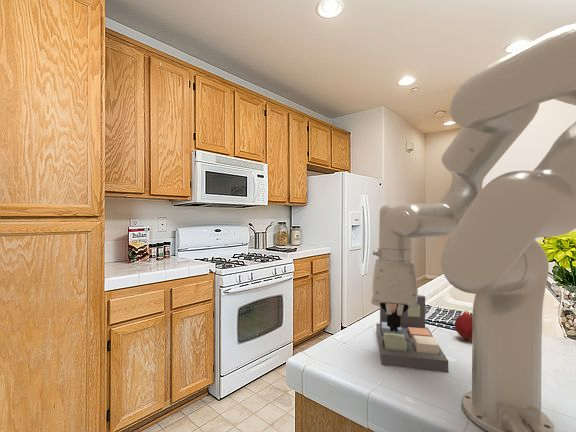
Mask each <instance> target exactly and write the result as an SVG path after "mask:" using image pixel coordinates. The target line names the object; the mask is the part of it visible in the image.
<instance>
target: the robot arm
mask: <svg viewBox="0 0 576 432" xmlns="http://www.w3.org/2000/svg"><path fill="white" fill-rule="evenodd" d="M551 100H555V101H559V102H562V103H565V104H569V105H572V106H576V23H571V24H567V25H564V26H563V27H559V28H556V29H555V30H552V31H550V32H548V33H546V34H544V35H542V36H541V37H539V38H538V37H537V38H536V39H534V40H533V41H530V43H527V44H526V45H523V46H521V47H520V48H518V49H516V50H515V51H513V52H510V53H509V54H507V55H505V56H503V57H501V58H499V59H497V61H494V62H492V63H490V64H489V65H487V66H486V67H484V68H482V69H481V70H479V71H477V72H476V73H474V74H473V75H471V76H470V77H469V78H468V79H466V80H465V81H464V82H463V83H462V84H461V85H460V86H459V87H458V88H457V90H456V92H455V93H454V95H453V96H452V99H451V101H450V107H449V110H450V111H449V112H450V113H449V114H450V116H451V119H452V120H453V122H454V123H456V124H457V125H458V126H459V127H461V128H460V129H459V131H458V133H457V134H456V135H455V137H454V138H453V139H452V141H451V142H450V144H449V145H448V147H446V149H445V151H444V152H443V153H442V156H441V162H442V165H443V167H444V168H445V169H446V170H447V171H448V172H450V174H451V182H450V186H449V188H448V189H447V191H446V192H445V194H444V195H443V196H442V198H441V199H440V200H439V202H437V203H407V204H384V205H382V206H381V207H380V210H379V225H378V227H379V229H378V231H379V233H378V237H379V238H378V239H379V240H378V248H377V249H372V255H373V256H377V257H378V259H376V260H375V263H374V271H373V277H372V297H371V300H370V301H371V304H372V305H375V306H377V307H379V308H380V307H382V308H383V309H384V310H385V312H386V313H387V326H389V327H390V331H392V332H393V331H395V332H398V327H400V319H401V315H402V313H404V312H405V311H406V310H407V309H411V308H417V307H418V305H417V300H418V295H419V293H418V288H419V287H418V274H417V267H416V263H415V262H414V261H413V260H412V253H413V252H412V250H413V247H412V245H413V239H416V238H417V239H423V238H441V237H446V236H449V235H450V236H449V238H448V240H447V241H446V243H445V246H444V247H443V250H442V254H441V261H440V263H441V270H442V273H443V275H444V278H445V279H446V280H447V281H448V283H450V285H451V286H453V288H455V289H457V290H458V291H461V292H464V293H468V294H473V295H474V299H473V303H472V316H473V321H472V338H471V341H472V342H471V343H472V344H471V346H472V347H471V353H472V354H471V356H472V357H471V359H472V360H471V390H470V391H467V392H465V393H464V394H463V396H462V398H461V408H462V411H463V412H464V413H465V415H466V416H467V418H469V419H470V420H471V421H472V422H474V424H475V425H477V426H478V427H480V428H482V429H483V430H485V431H487V432H555V430H554V428H555V426H554V424H553V422H552V421H551V420H550V418H549V416H547V415H546V414H545V413H544V412H543V411H542V355H543V354H542V351H543V350H542V346H543V345H542V344H543V343H542V341H543V340H542V339H543V338H542V335H543V307H544V300H545V299H544V298H545V293H546V287H547V283H548V277H549V267H550V266H549V259H548V256H547V253H546V250H544V248H543V246H542V245H541V244H540V243H539V242H538V241H537V240H536V239H537V238H538V239H539V238H552V237H560V236H563V235H566V234H569V233H571V232H573V231H574V230H576V121H575V122H573V123H572V124H571V125H569V127H568V128H566V130H564V131H563V132H562V133H561V134H560V135H559V136H558V137H557V139H555V141H554V143H553V144H552V145H551V146H550V149H549V150H548V151H547V153H546V154H545V156H544V157H542V160H541V161H540V162H539V163H538V165H537V166H536V167H535V168H534V169H532V170H524V169H523V170H522V169H521V170H514V171H509V172H505V173H503V174H500V175H498V176H497V177H495V178H493V179H492V180H490V181H489V182H487V184H485V186H484V187H483V183H484V179H485V177H486V176H487V175H488V174H489V172H490V171H491V170H492V169H493V168H494V167H495V165H496V164H497V163H498V162H499V161H500V159H501V158H502V157H503V156H504V154H505V153H506V152H507V151H508V150H509V148H510V147H511V146H513V144H514V142H516V140H517V139H518V138H519V137H520V136H521V134H522V133H523V132H524V131H525V130H526V129H527V127H528V126H529V125H530V123H531V122H532V121H533V120H534V119H535V117H536V114H537V113H538V111H539V108H540V104H542V103H545V102H547V101H551ZM391 304H397V305H396V310H395V312H393V311H392V309H391Z"/></svg>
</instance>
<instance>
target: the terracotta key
mask: <svg viewBox="0 0 576 432" xmlns="http://www.w3.org/2000/svg"><path fill="white" fill-rule="evenodd" d="M426 328H427V327H426ZM426 328H413V327H408V335H409V338H410V339H413V335H416V336H428V337H431V335H430V333H429V331H428V330H427V329H426Z"/></svg>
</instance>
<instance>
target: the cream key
mask: <svg viewBox="0 0 576 432" xmlns="http://www.w3.org/2000/svg"><path fill="white" fill-rule="evenodd" d="M413 346H414V348H415V351H416V352H419V353H429V354H439V347H440V344H439V343H438V341H437V340H436V338H435V337H434V336H433V337H428V336H416V335H413Z"/></svg>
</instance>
